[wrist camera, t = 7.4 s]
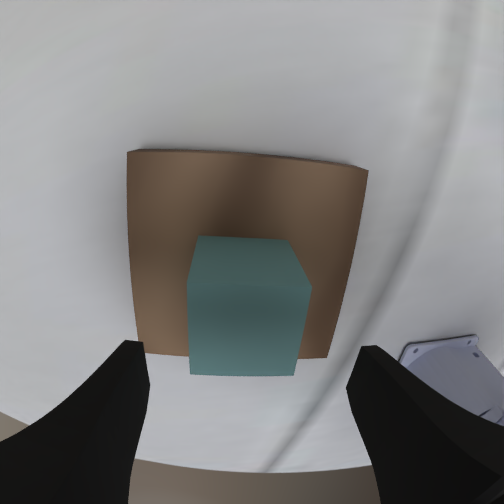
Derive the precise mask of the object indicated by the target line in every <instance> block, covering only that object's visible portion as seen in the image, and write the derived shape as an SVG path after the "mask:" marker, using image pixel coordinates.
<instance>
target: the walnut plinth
mask: <svg viewBox="0 0 504 504" xmlns="http://www.w3.org/2000/svg"><path fill="white" fill-rule="evenodd" d="M368 171H369V170H366V169H363V168H360V167H357V166H353V165H347V164H340V163H333V162H326V161H319V160H311V159H303V158H294V157H285V156H275V155H264V154H252V153H239V152H224V151H205V150H175V149H137V150H133V151H129V152H127V221H128V243H129V259H130V271H131V283H132V293H133V302H134V311H135V319H136V326H137V334H138V341H140V342H143V344H144V351H145V353H151V354H162V355H174V356H188V357H189V343H188V316H187V279H188V275H189V271H190V267H191V263H192V259H193V255H194V251H195V247H196V243H197V239H198V235H199V236H220V237H240V238H260V239H279V240H288V242H289V243H290V245H291V247H292V249H293V251H294V253H295V255H296V257H297V259H298V261H299V262H300V264H301V266H302V268H303V270H304V272H305V274H306V276H307V278H308V280H309V282H310V284H311V286H312V291H311V296H310V301H309V306H308V311H307V316H306V321H305V326H304V331H303V336H302V340H301V345H300V349H299V354H298V358H297V359H311V358H327V355H328V352H329V349H330V345H331V342H332V338H333V335H334V331H335V328H336V324H337V320H338V317H339V313H340V309H341V305H342V301H343V297H344V293H345V289H346V285H347V281H348V276H349V272H350V268H351V263H352V259H353V254H354V249H355V245H356V240H357V235H358V230H359V224H360V219H361V214H362V208H363V202H364V196H365V190H366V184H367V178H368Z"/></svg>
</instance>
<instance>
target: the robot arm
mask: <svg viewBox="0 0 504 504" xmlns="http://www.w3.org/2000/svg"><path fill="white" fill-rule="evenodd" d="M478 340H479V337H478V336H477V335H474V336H468V337H462V338H455V339H448V340H441V341H434V342H426V343H418V344H410V345H408V346H407V347H406V348H405V350H404V353H403V355H402V357H401V359H400V362H398V361H397V360H395V359H394V358H393V357H392V356H390V355H389V354H388V353H387V352H385V351H384V350H383V349H381V348H380V347H378V346H377V345H372V346H361V349H360V352H359V354H358V357H357V360H356V363H355V365H354V368H353V371H352V373H351V376H350V378H349V381H348V383H347V386H346V390H347V394H348V399H349V403H350V407H351V411H352V414H353V416H354V419H355V421H356V424H357V427H358V429H359V432H360V434H361V437H362V439H363V442H364V444H365V447H366V449H367V452H368V455H369V457H370V460H371V463H372V466H373V469H374V472H375V477H376V481H377V486H378V490H379V496H380V501H381V504H504V377H503V376H502V375H501V374H500V372H499V371H498V370H497V369H496V368H495V367H494V365H493V364H492V363H491V362H490V361H489V360H488V359H487V358H486V356H485V355H484V354H483V353H482V352H481V351H480V350H479V349H478V348H477V346H476V344H477V342H478ZM149 391H150V382H149V376H148V370H147V364H146V358H145V351H144V344H143V342H140V341H130V340H125V341H124V342H122V343H121V344H120V346H119V347H118V348H117V349H116V350H115V351H114V352H113V353H112V354H111V355H110V356H109V357H108V358H107V359H106V360H105V362H104V363H103V364H102V365H101V366H100V367H99V368H98V369H97V370H96V371H95V372H94V373H93V374H92V375H91V376H90V377H89V378H88V379H87V380H86V381H85V382H84V383H83V384H82V385H81V386H80V387H78V388H77V389H76V390H75V391H74V392H73V393H72V394H71V395H70V396H69V397H67V398H66V399H65V400H64V401H63V402H62V403H60V404H59V405H58V406H57V407H55V408H54V409H53V410H52V411H50V412H49V413H48V414H46V415H45V416H44V417H42V418H41V419H39V420H38V421H36V422H35V423H33V424H31V425H30V426H28V427H26V428H25V429H23V430H22V431H20V432H18V433H17V434H15V435H13V436H11V437H9V438H7V439H5V440H3V441H1V442H0V504H128V496H129V486H130V476H131V471H132V466H133V461H134V458H135V454H136V450H137V446H138V442H139V438H140V434H141V431H142V427H143V423H144V419H145V415H146V411H147V405H148V398H149Z"/></svg>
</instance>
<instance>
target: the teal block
mask: <svg viewBox="0 0 504 504" xmlns="http://www.w3.org/2000/svg"><path fill="white" fill-rule="evenodd" d="M311 291H312V286H311V284H310V282H309V280H308V278H307V276H306V274H305V272H304V270H303V268H302V266H301V264H300V262H299V261H298V259H297V257H296V255H295V253H294V251H293V249H292V247H291V245H290V243H289V242H288V240H279V239H260V238H240V237H220V236H199V235H198V239H197V243H196V247H195V251H194V255H193V259H192V263H191V267H190V271H189V275H188V279H187V316H188V343H189V363H190V374H195V375H216V376H294V371H295V367H296V363H297V358H298V354H299V349H300V345H301V340H302V336H303V331H304V326H305V321H306V316H307V311H308V306H309V301H310V296H311Z"/></svg>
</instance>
